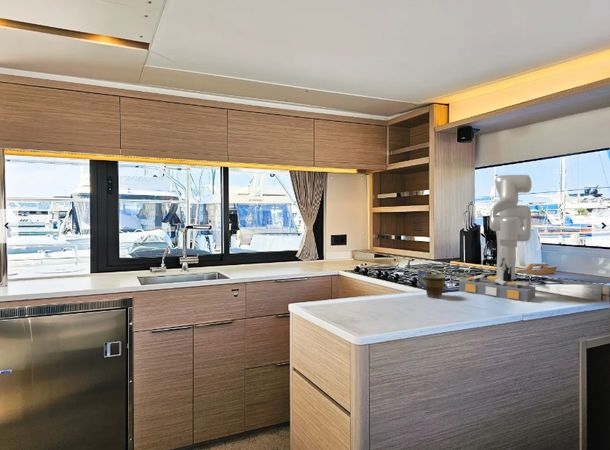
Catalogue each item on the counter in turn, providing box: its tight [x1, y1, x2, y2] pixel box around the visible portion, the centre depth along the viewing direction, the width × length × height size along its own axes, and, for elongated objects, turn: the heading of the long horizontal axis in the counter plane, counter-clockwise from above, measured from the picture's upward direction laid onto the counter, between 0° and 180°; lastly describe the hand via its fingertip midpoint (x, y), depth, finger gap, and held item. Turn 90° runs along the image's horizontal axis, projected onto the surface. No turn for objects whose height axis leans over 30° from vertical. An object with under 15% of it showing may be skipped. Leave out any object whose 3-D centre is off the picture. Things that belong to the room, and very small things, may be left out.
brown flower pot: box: [417, 273, 446, 299], centre depth 203 cm, size 13×10×10 cm
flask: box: [417, 266, 432, 288], centre depth 223 cm, size 9×3×11 cm, turn 28°
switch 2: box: [486, 275, 507, 285], centre depth 207 cm, size 4×8×2 cm, turn 46°
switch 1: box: [465, 273, 486, 280], centre depth 214 cm, size 4×8×2 cm, turn 46°
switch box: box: [458, 278, 536, 302], centre depth 207 cm, size 13×32×6 cm, turn 46°
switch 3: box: [507, 280, 529, 286], centre depth 200 cm, size 4×8×2 cm, turn 46°
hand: (507, 281), depth 203 cm, fingers closed
